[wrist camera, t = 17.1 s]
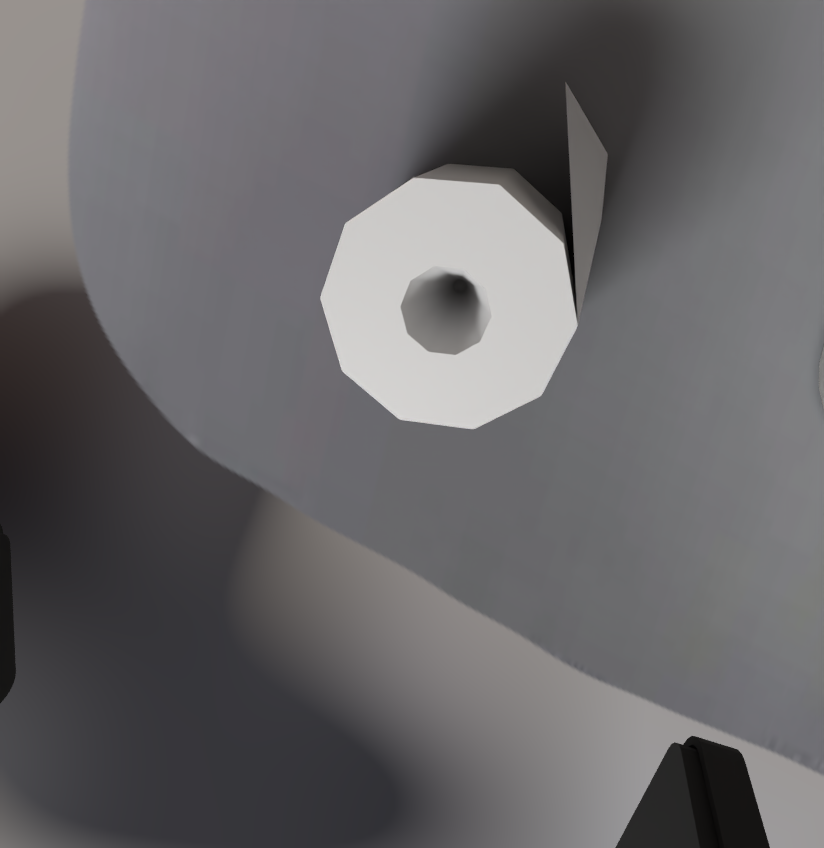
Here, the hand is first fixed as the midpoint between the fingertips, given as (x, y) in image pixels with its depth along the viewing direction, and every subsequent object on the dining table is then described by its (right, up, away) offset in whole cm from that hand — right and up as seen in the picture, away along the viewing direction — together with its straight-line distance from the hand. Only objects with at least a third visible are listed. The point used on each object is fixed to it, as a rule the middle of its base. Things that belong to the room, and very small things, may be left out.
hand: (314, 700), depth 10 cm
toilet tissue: (+5, +12, +23) cm, 27 cm away
